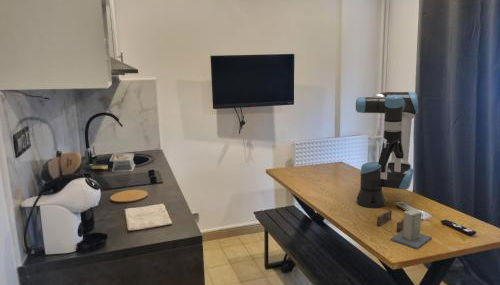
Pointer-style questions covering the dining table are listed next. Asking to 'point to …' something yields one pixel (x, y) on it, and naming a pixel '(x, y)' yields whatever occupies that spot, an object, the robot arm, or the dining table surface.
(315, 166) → the dining table surface
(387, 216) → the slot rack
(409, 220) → the skincare box
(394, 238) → the slate pad
